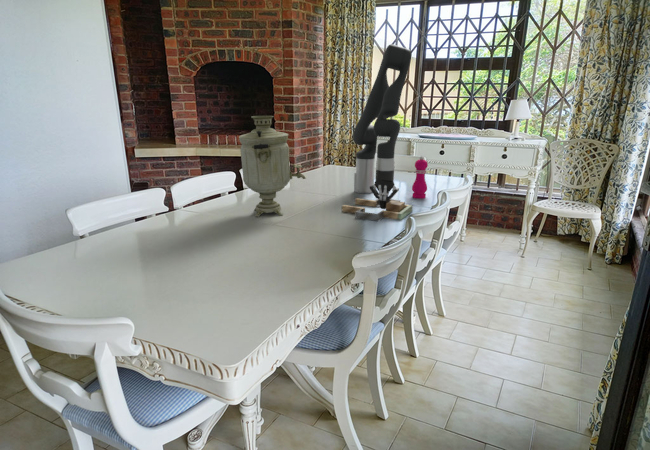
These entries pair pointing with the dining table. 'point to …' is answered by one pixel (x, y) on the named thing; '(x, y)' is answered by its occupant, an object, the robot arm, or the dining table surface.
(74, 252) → the dining table surface
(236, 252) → the dining table surface
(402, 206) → the walnut block
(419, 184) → the pepper mill
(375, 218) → the wooden strip frame
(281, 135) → the samovar
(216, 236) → the dining table surface
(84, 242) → the dining table surface
